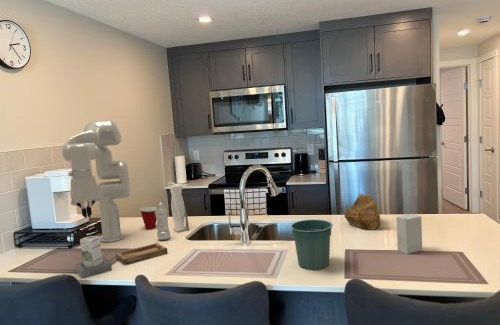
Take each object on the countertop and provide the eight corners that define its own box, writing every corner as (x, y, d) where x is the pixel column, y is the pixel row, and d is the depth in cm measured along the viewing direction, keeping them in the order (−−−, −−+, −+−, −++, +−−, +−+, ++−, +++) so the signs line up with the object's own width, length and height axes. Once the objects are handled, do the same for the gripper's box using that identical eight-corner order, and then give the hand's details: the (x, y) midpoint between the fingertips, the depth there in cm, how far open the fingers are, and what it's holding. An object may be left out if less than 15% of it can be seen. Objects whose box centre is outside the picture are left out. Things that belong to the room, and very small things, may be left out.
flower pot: (325, 275, 140) (323, 232, 139) (285, 268, 149) (283, 228, 147) (340, 260, 154) (338, 221, 153) (303, 255, 163) (300, 218, 161)
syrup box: (103, 268, 164) (100, 235, 163) (94, 273, 159) (90, 239, 157) (93, 267, 166) (89, 235, 165) (83, 272, 161) (79, 239, 159)
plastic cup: (157, 229, 221) (155, 209, 220) (139, 231, 221) (137, 210, 220) (162, 225, 232) (160, 205, 231) (144, 226, 232) (142, 206, 231)
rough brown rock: (342, 221, 214) (339, 195, 212) (372, 217, 212) (369, 191, 210) (350, 235, 191) (346, 206, 189) (384, 230, 189) (380, 201, 187)
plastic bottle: (167, 241, 197) (164, 203, 195) (155, 241, 198) (151, 203, 196) (172, 237, 203) (169, 200, 201) (160, 237, 205) (157, 201, 203)
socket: (75, 270, 164) (74, 263, 164) (104, 263, 171) (103, 256, 171) (81, 278, 154) (80, 271, 154) (112, 270, 161) (111, 263, 161)
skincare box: (412, 247, 163) (411, 213, 162) (423, 251, 157) (422, 215, 156) (396, 250, 160) (395, 215, 159) (407, 254, 155) (406, 218, 153)
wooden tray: (116, 258, 176) (115, 253, 176) (157, 247, 187) (157, 242, 187) (124, 265, 166) (124, 259, 166) (167, 253, 178) (167, 248, 177)
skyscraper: (175, 233, 212) (170, 183, 209) (171, 230, 219) (166, 181, 216) (189, 230, 215) (185, 181, 213) (185, 227, 223) (180, 180, 220)
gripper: (63, 177, 151) (69, 222, 153) (103, 172, 160) (108, 214, 162) (60, 175, 157) (65, 219, 159) (99, 171, 166) (103, 212, 168)
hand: (87, 216), depth 160 cm, fingers closed
